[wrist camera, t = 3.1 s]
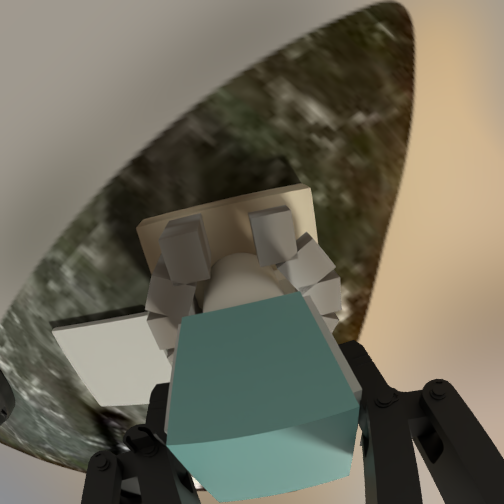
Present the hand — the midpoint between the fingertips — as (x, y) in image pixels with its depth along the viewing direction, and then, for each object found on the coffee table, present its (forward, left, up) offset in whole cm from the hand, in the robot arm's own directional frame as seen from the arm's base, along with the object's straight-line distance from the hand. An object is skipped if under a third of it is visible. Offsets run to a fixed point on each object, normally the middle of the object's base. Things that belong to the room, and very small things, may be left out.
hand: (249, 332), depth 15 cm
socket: (0, 0, -7) cm, 7 cm away
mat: (-12, -6, -7) cm, 16 cm away
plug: (0, 0, -5) cm, 5 cm away
